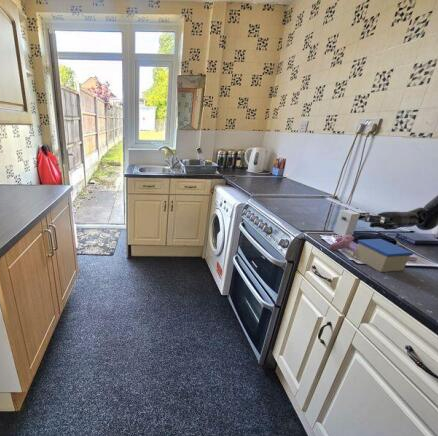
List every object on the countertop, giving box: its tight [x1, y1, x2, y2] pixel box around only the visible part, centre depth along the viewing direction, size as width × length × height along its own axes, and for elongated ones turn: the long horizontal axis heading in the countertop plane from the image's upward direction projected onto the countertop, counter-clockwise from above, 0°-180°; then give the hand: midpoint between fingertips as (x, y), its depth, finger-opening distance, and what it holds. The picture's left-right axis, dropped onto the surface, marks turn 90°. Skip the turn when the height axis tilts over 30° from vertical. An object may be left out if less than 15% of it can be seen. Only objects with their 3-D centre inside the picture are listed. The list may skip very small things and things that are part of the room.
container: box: [353, 238, 414, 273], centre depth 86 cm, size 11×10×7 cm
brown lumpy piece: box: [329, 234, 356, 251], centre depth 97 cm, size 10×5×7 cm, turn 131°
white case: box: [333, 209, 360, 237], centre depth 108 cm, size 6×4×11 cm
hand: (361, 221), depth 108 cm, fingers open, 8 cm apart
